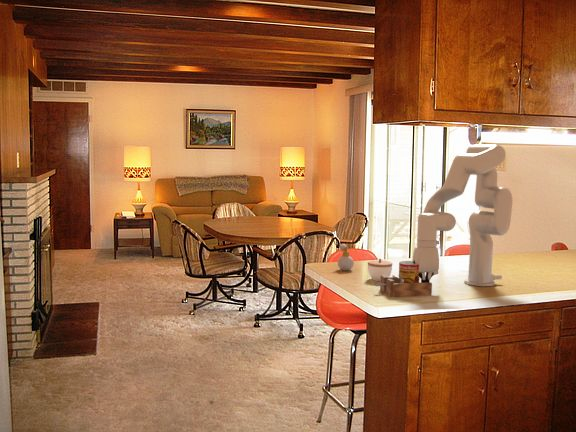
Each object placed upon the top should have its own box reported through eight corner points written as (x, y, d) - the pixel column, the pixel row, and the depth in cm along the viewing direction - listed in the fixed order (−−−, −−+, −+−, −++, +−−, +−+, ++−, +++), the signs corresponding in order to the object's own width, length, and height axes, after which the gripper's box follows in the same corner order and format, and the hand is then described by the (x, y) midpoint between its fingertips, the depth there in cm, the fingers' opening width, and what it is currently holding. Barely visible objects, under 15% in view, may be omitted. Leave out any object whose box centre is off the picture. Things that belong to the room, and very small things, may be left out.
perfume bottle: (344, 272, 287) (345, 246, 285) (331, 268, 294) (331, 244, 293) (356, 270, 291) (357, 245, 290) (343, 267, 299) (343, 242, 298)
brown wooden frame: (417, 288, 255) (418, 273, 255) (431, 295, 242) (432, 280, 242) (379, 289, 252) (379, 274, 251) (391, 296, 239) (391, 281, 238)
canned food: (396, 293, 246) (397, 263, 244) (400, 289, 253) (401, 260, 252) (415, 295, 242) (417, 265, 241) (419, 291, 250) (421, 262, 248)
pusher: (394, 289, 251) (395, 274, 251) (403, 294, 242) (404, 279, 241) (371, 289, 249) (372, 275, 249) (380, 295, 240) (380, 280, 239)
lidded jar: (362, 278, 274) (363, 257, 273) (383, 276, 278) (384, 256, 277) (375, 283, 264) (376, 261, 263) (396, 281, 268) (397, 260, 267)
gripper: (439, 242, 252) (437, 286, 254) (405, 242, 249) (403, 287, 251) (448, 245, 245) (446, 290, 247) (413, 245, 242) (411, 291, 244)
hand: (424, 288), depth 249 cm, fingers closed
